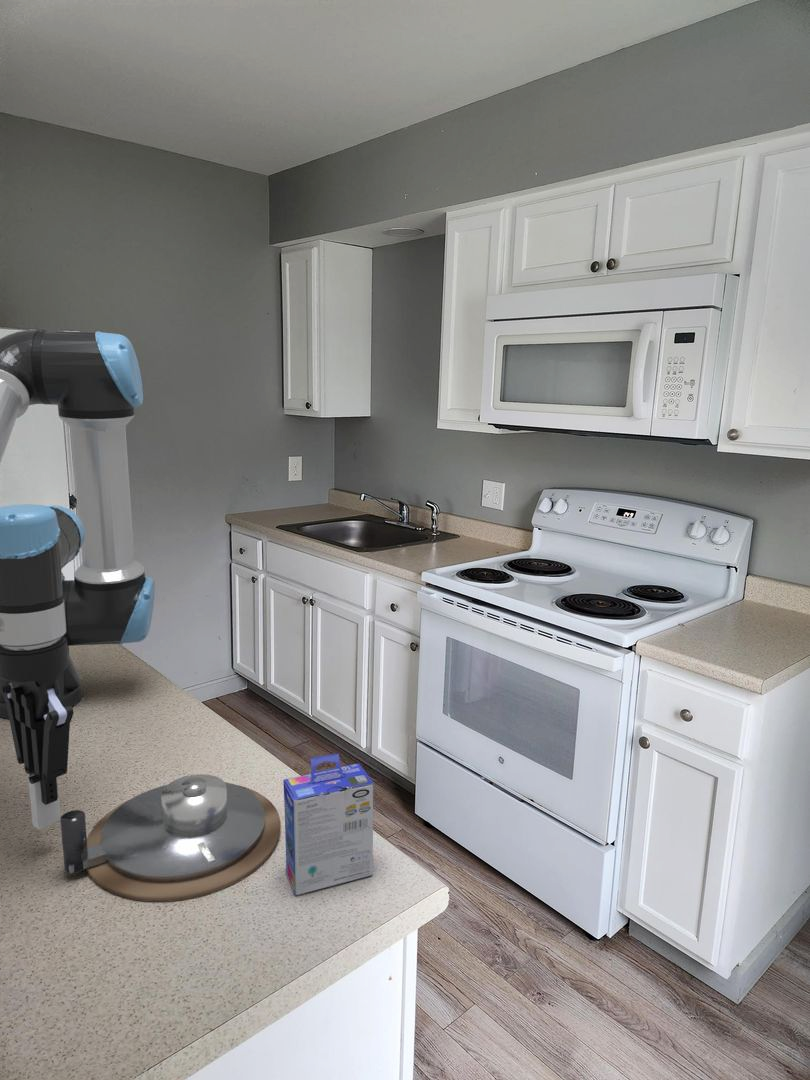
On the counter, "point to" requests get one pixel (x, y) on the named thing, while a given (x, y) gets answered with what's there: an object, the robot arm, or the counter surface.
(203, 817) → the cover
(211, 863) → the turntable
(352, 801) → the ink cartridge box
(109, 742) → the counter surface
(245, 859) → the base
